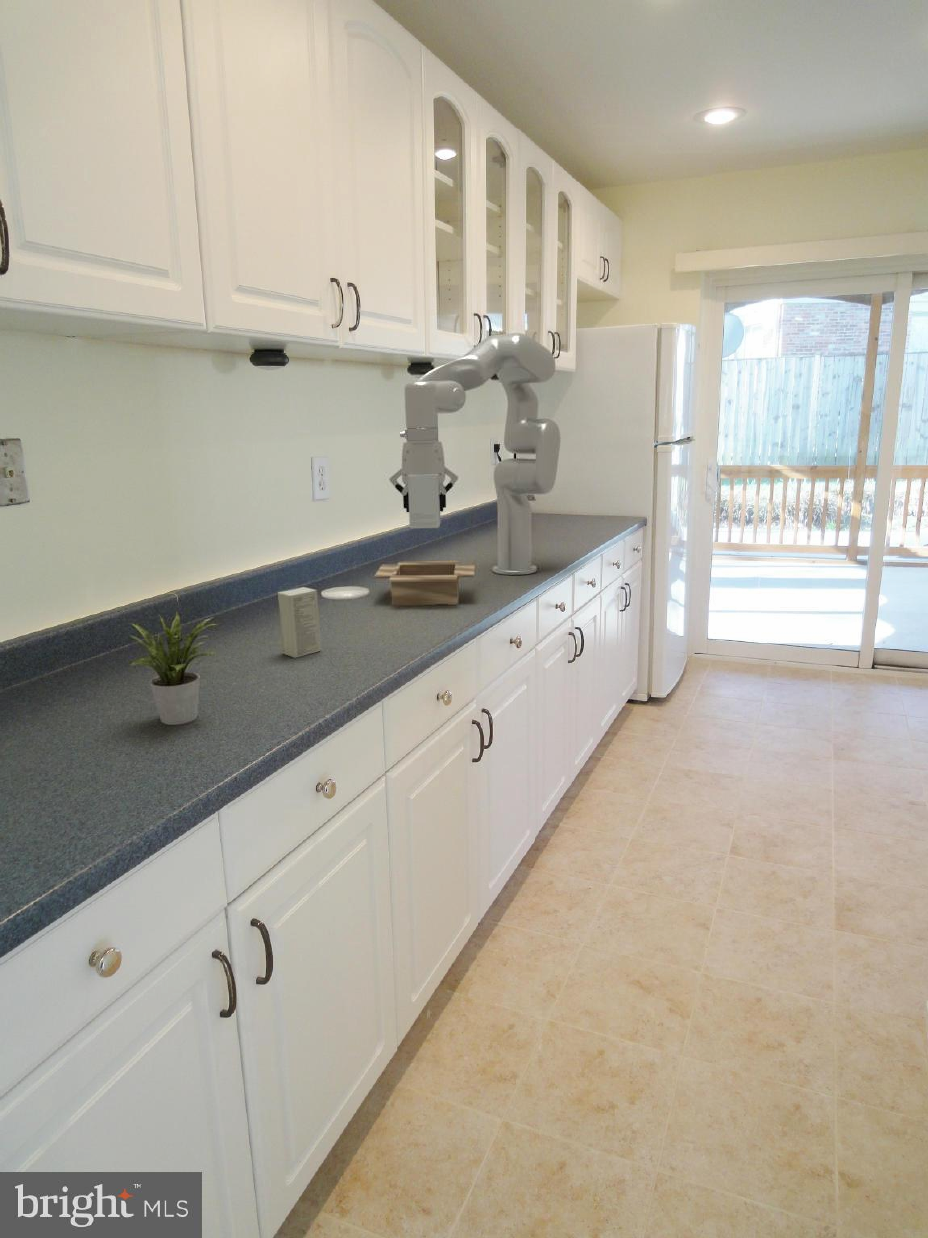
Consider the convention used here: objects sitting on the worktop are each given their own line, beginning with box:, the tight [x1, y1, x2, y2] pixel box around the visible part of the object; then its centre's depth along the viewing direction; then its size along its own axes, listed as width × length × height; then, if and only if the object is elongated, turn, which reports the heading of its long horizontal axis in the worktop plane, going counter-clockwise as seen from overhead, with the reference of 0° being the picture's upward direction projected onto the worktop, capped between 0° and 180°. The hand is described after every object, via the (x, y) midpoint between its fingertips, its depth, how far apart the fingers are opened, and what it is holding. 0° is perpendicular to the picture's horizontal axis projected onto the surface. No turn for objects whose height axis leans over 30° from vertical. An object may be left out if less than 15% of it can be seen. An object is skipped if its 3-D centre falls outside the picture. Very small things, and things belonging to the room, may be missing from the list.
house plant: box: [129, 611, 219, 726], centre depth 119 cm, size 14×14×16 cm
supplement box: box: [408, 474, 441, 529], centre depth 194 cm, size 7×7×13 cm
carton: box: [373, 560, 476, 606], centre depth 199 cm, size 24×24×7 cm
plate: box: [320, 585, 370, 601], centre depth 205 cm, size 12×12×1 cm
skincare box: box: [277, 586, 322, 659], centre depth 153 cm, size 6×4×12 cm
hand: (425, 510), depth 195 cm, fingers closed on supplement box, 7 cm apart
